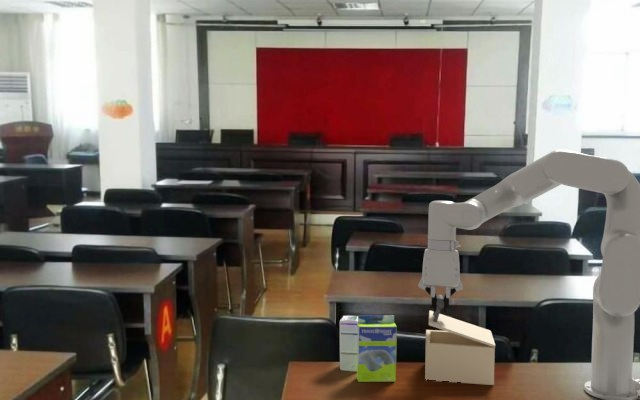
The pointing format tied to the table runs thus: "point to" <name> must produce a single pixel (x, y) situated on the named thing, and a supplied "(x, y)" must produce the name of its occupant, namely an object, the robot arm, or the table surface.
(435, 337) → the cream hinged door cabinet
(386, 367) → the box
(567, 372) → the table surface
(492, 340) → the cream panel with handle
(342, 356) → the syrup box
